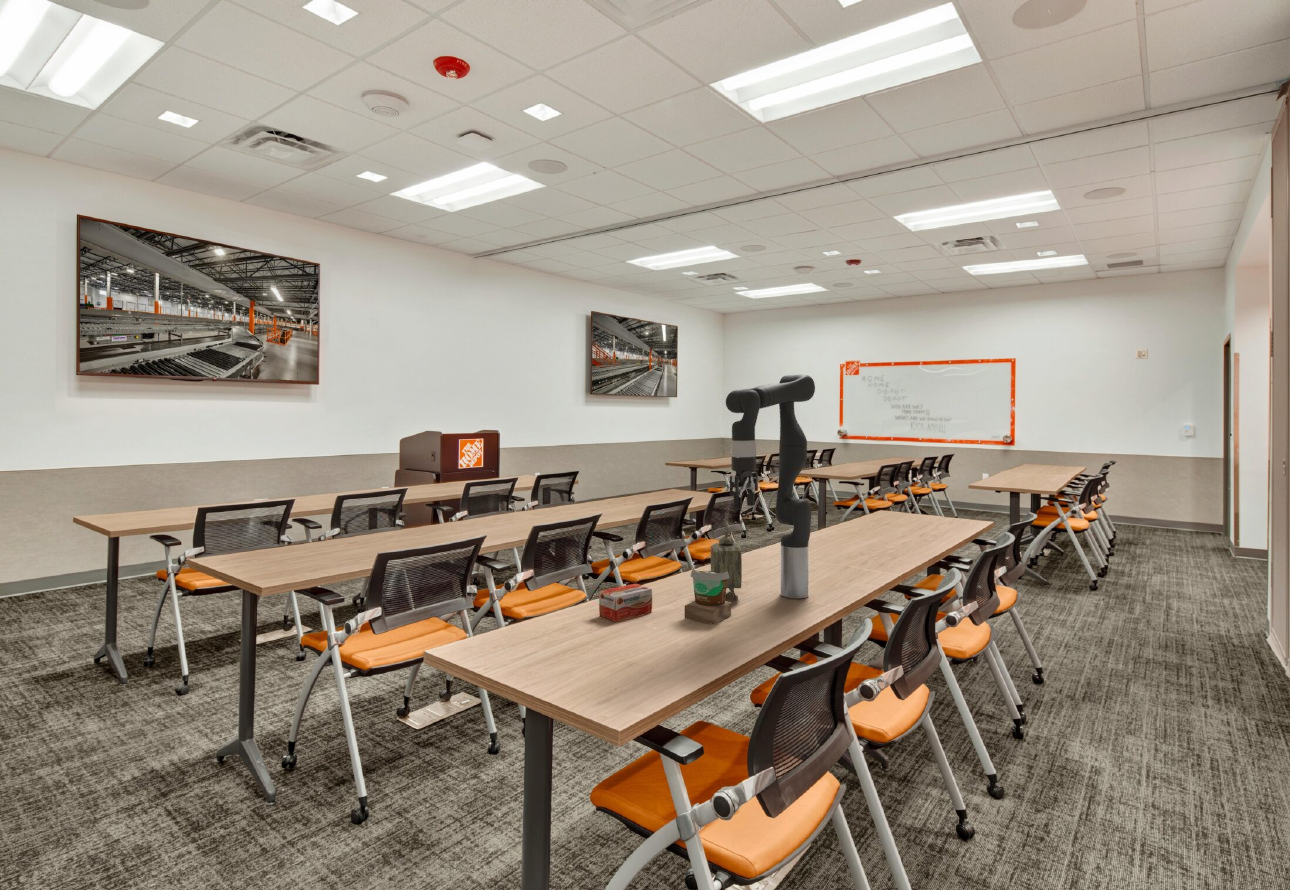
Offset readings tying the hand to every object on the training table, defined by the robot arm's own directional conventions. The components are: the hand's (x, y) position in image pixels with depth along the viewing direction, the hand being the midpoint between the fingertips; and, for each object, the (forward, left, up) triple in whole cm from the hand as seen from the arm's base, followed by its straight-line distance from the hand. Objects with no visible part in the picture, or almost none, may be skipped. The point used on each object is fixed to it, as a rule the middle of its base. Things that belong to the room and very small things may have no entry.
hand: (744, 507), depth 201 cm
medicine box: (+22, -30, -34) cm, 50 cm away
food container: (+11, -7, -29) cm, 32 cm away
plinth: (+9, -8, -33) cm, 35 cm away
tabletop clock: (-15, -15, -33) cm, 39 cm away
